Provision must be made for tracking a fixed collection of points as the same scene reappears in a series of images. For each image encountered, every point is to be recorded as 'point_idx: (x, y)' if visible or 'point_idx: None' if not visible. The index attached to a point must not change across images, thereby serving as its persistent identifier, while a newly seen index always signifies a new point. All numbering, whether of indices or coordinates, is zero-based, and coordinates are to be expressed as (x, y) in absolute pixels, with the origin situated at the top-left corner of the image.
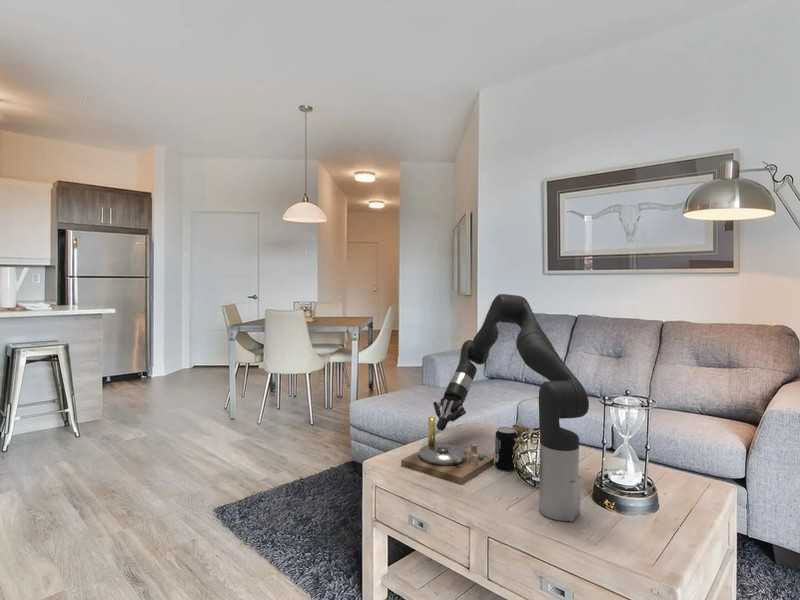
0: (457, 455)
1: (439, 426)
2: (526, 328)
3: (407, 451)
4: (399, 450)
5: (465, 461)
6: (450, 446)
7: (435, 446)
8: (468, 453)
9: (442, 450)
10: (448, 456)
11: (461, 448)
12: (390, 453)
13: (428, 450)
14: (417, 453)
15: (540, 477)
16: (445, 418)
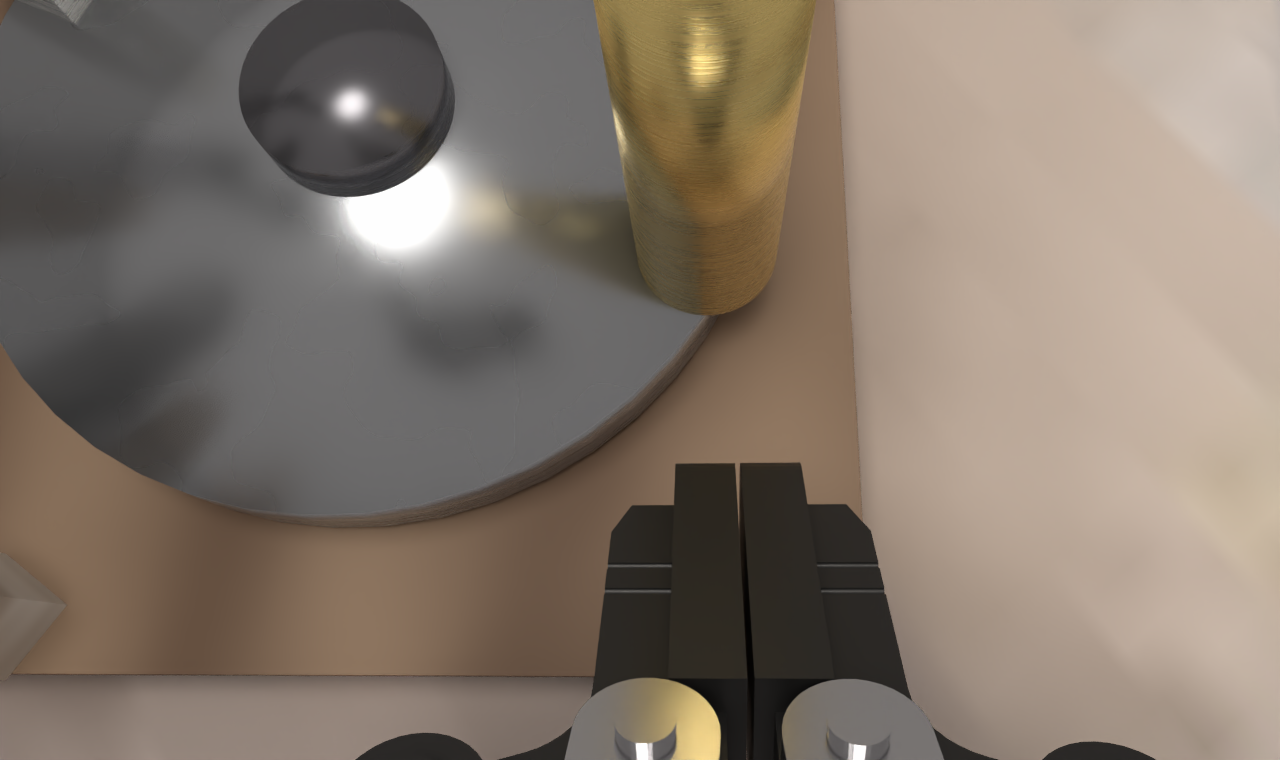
0: (78, 125)
1: (715, 469)
2: None
3: (1139, 255)
4: (1267, 208)
5: None
6: (371, 414)
7: (600, 234)
8: (100, 578)
9: (303, 7)
10: (184, 3)
11: (146, 453)
12: (1263, 30)
13: (584, 4)
14: None
15: None
16: (620, 691)
